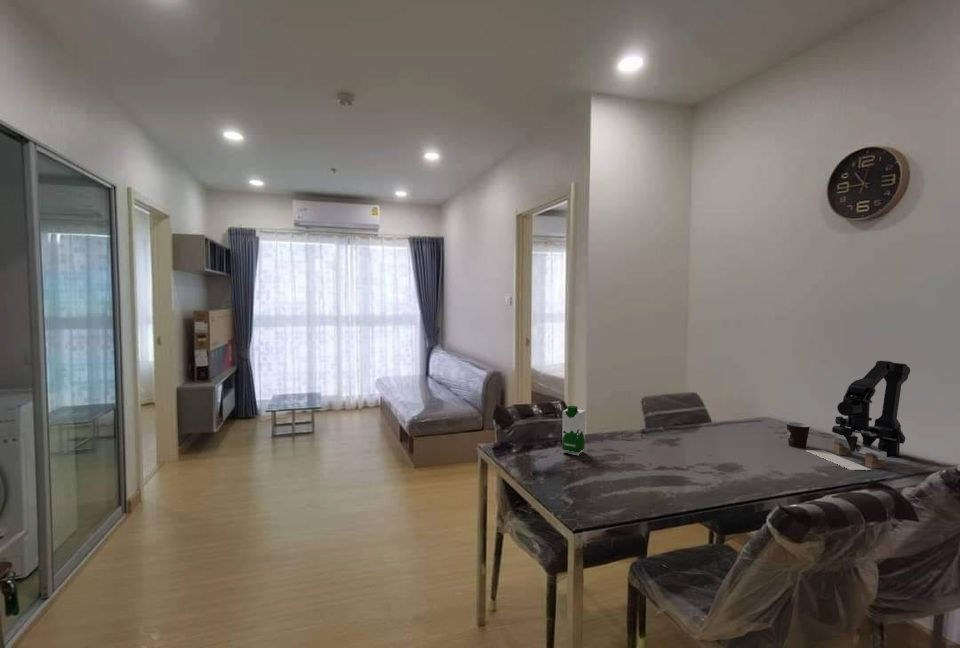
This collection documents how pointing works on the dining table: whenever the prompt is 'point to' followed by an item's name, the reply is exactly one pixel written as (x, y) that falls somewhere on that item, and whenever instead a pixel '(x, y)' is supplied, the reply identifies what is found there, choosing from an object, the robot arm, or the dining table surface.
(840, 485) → the dining table surface
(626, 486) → the dining table surface
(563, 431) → the milk carton
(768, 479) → the dining table surface
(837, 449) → the post
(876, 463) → the post
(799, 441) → the coffee mug
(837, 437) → the rail
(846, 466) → the mat
